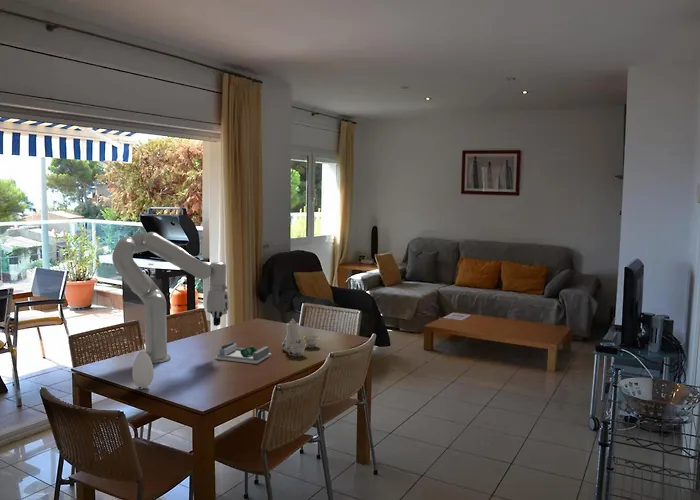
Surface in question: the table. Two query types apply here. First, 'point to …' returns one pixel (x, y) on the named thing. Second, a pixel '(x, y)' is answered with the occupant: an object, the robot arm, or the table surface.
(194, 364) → the table surface
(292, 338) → the chinaware
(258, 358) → the vise base
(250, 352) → the gaming controller
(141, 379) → the white tall teardrop piece
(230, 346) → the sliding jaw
